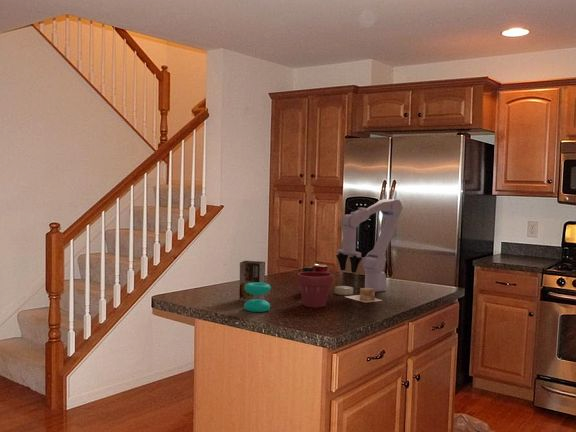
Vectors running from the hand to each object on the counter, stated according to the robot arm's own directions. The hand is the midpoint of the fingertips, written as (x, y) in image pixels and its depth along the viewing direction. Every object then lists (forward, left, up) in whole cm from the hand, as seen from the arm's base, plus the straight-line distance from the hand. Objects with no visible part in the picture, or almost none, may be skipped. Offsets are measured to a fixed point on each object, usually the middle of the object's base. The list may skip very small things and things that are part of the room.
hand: (348, 271), depth 259 cm
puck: (+2, 0, -10) cm, 10 cm away
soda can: (+9, -9, -10) cm, 16 cm away
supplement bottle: (+18, -6, -10) cm, 21 cm away
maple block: (+2, +15, -10) cm, 18 cm away
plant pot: (+29, +14, -10) cm, 34 cm away
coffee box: (+47, -5, -10) cm, 48 cm away
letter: (+2, +13, -10) cm, 16 cm away
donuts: (+54, +11, -10) cm, 56 cm away
